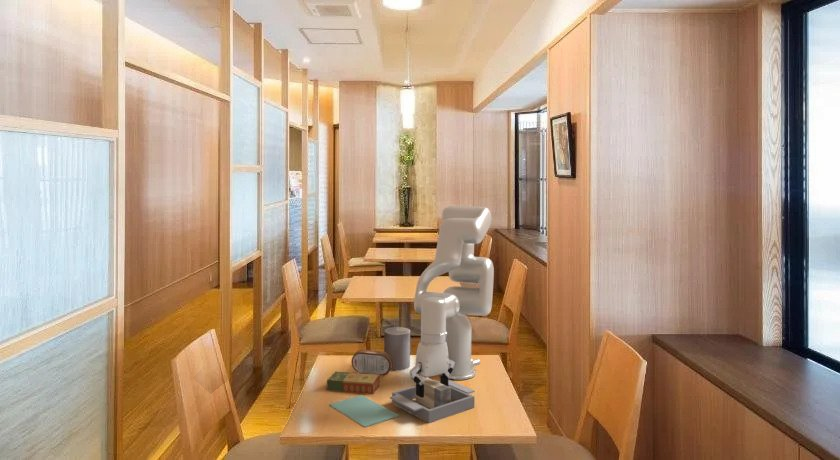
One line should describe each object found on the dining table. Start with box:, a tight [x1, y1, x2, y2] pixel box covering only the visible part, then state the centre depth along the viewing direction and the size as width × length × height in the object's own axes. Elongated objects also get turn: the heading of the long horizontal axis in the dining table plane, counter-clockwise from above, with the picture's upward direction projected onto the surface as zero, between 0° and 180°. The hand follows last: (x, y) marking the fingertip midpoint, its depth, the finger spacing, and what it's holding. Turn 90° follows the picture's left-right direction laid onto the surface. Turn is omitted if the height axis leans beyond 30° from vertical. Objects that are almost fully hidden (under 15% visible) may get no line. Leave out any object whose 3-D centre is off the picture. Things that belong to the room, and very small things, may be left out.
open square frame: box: [389, 379, 475, 424], centre depth 176 cm, size 24×18×4 cm
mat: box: [328, 394, 400, 428], centre depth 172 cm, size 12×20×1 cm, turn 39°
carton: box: [326, 371, 381, 395], centre depth 190 cm, size 8×16×4 cm, turn 78°
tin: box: [350, 349, 393, 377], centre depth 203 cm, size 15×3×8 cm, turn 76°
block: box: [415, 377, 452, 409], centre depth 176 cm, size 4×12×7 cm, turn 39°
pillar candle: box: [383, 326, 411, 371], centre depth 211 cm, size 10×10×15 cm
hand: (432, 392), depth 175 cm, fingers open, 9 cm apart
